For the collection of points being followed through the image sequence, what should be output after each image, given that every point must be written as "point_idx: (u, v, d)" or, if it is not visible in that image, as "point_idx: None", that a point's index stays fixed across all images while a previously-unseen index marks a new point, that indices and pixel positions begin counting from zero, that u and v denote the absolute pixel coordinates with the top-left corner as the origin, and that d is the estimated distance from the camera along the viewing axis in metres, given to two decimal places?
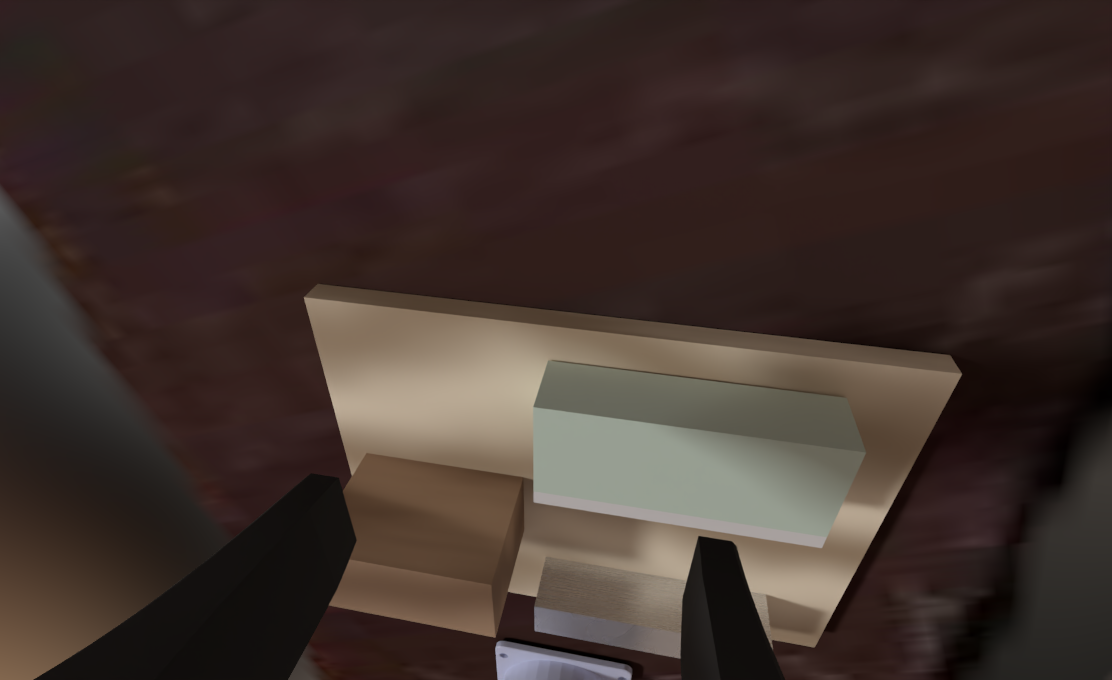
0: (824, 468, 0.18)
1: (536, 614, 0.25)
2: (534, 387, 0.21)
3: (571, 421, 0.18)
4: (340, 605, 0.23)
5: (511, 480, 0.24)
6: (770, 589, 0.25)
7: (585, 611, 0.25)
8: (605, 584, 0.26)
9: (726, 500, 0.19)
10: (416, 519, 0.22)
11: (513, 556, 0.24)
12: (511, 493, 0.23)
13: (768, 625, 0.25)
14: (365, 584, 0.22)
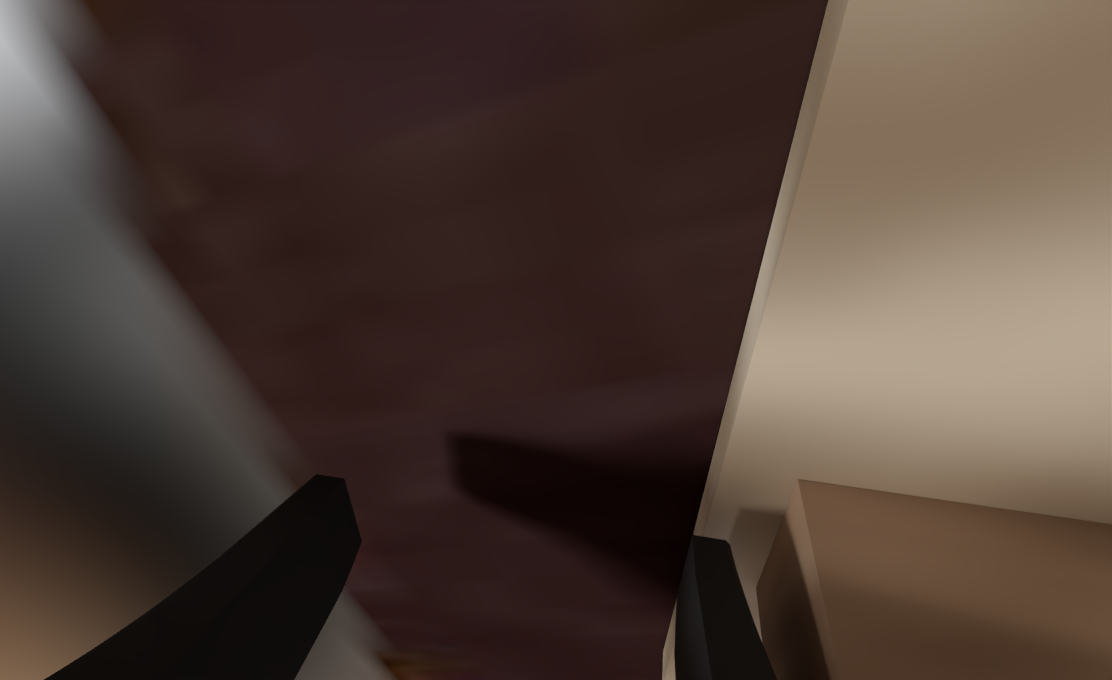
0: None
1: None
2: None
3: None
4: None
5: None
6: None
7: None
8: None
9: None
10: (1094, 679, 0.08)
11: None
12: None
13: None
14: None
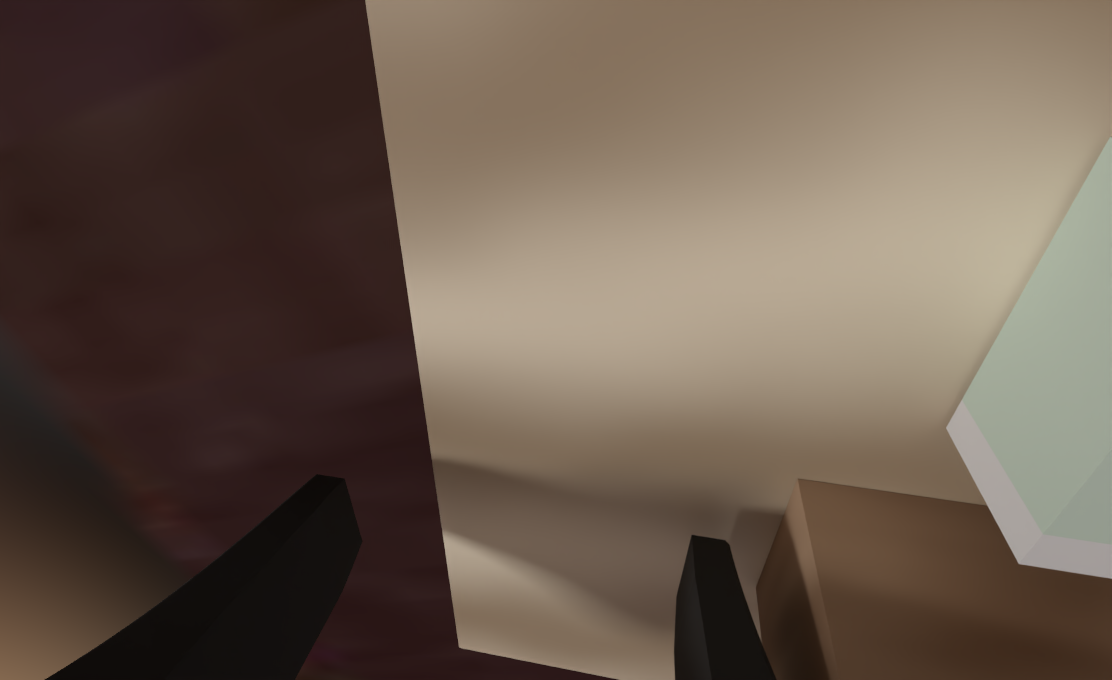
0: None
1: None
2: (1001, 239, 0.08)
3: None
4: None
5: None
6: None
7: None
8: None
9: None
10: (1094, 679, 0.08)
11: None
12: None
13: None
14: None
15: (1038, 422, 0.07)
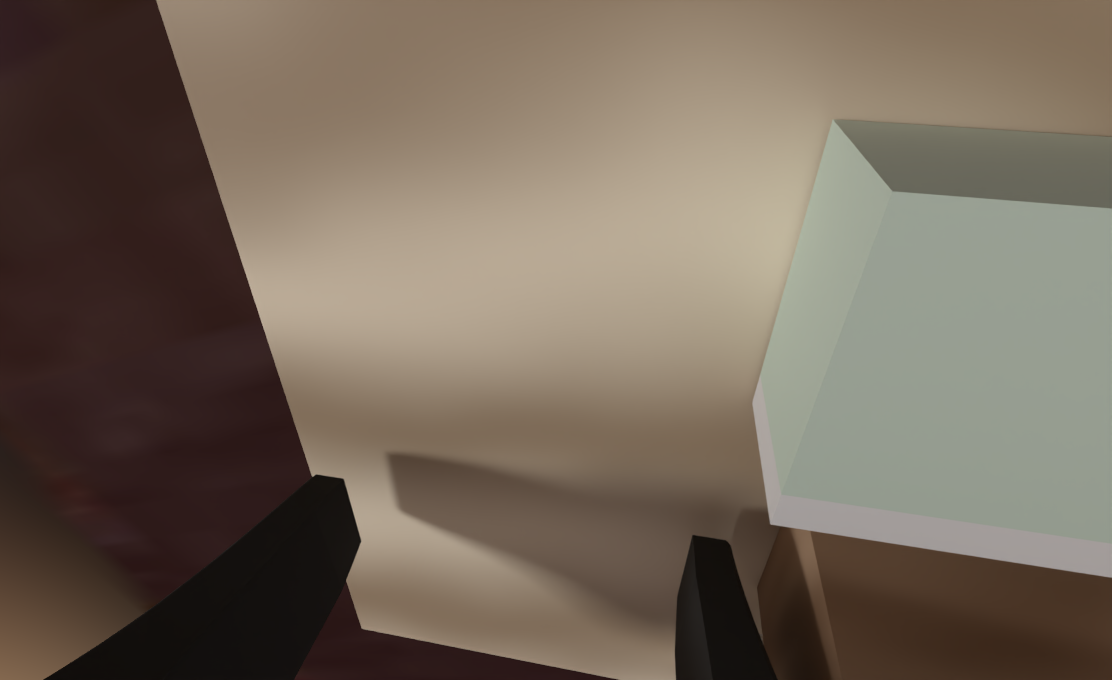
0: None
1: None
2: (763, 219, 0.08)
3: (1024, 245, 0.05)
4: None
5: None
6: None
7: None
8: None
9: None
10: (1096, 678, 0.08)
11: None
12: None
13: None
14: None
15: (787, 390, 0.08)
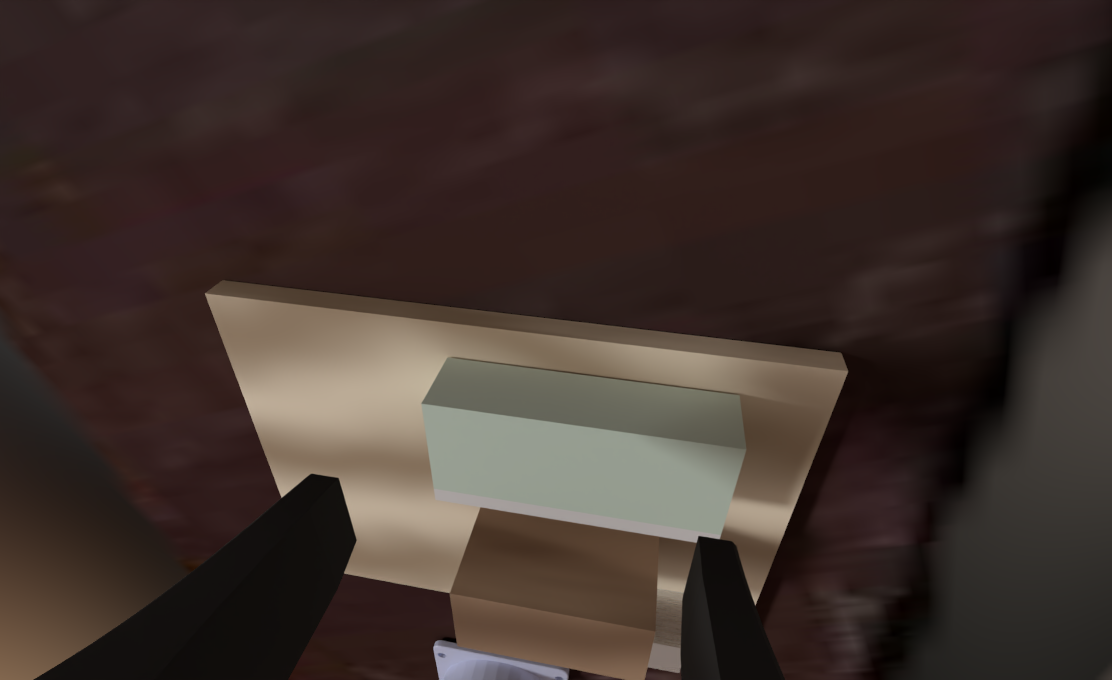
0: (708, 466, 0.18)
1: None
2: None
3: (459, 418, 0.18)
4: (474, 647, 0.22)
5: None
6: None
7: None
8: None
9: (619, 498, 0.19)
10: (558, 557, 0.21)
11: None
12: None
13: None
14: (509, 627, 0.20)
15: None
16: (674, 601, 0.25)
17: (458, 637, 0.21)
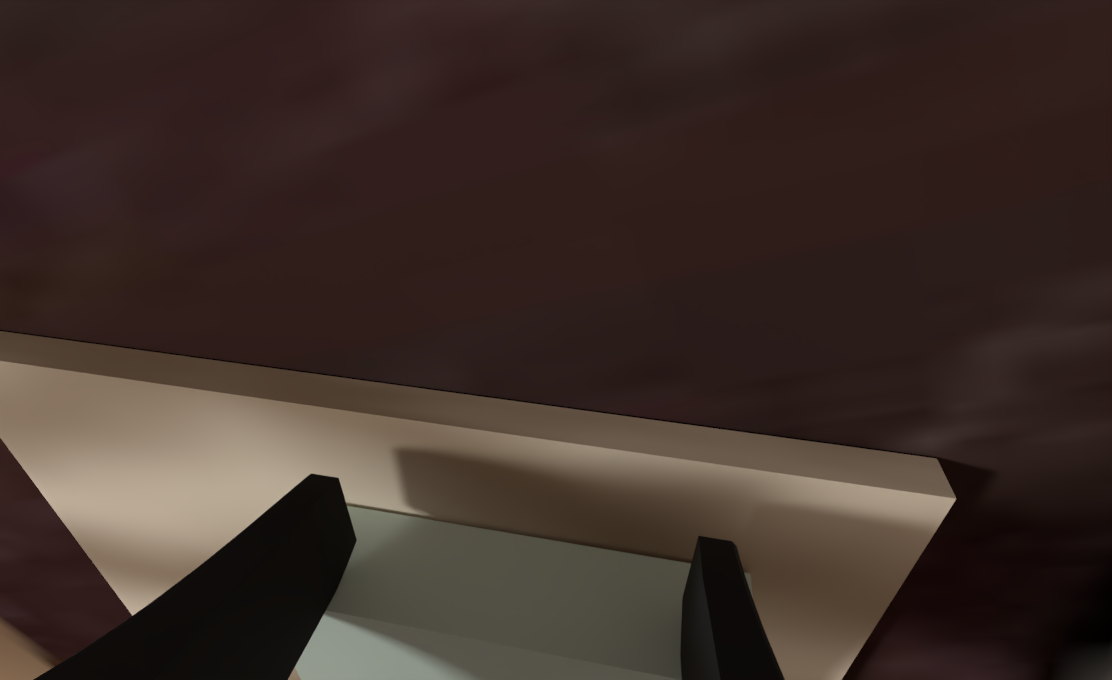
0: None
1: None
2: None
3: (321, 619, 0.12)
4: None
5: None
6: None
7: None
8: None
9: None
10: None
11: None
12: None
13: None
14: None
15: None
16: None
17: None
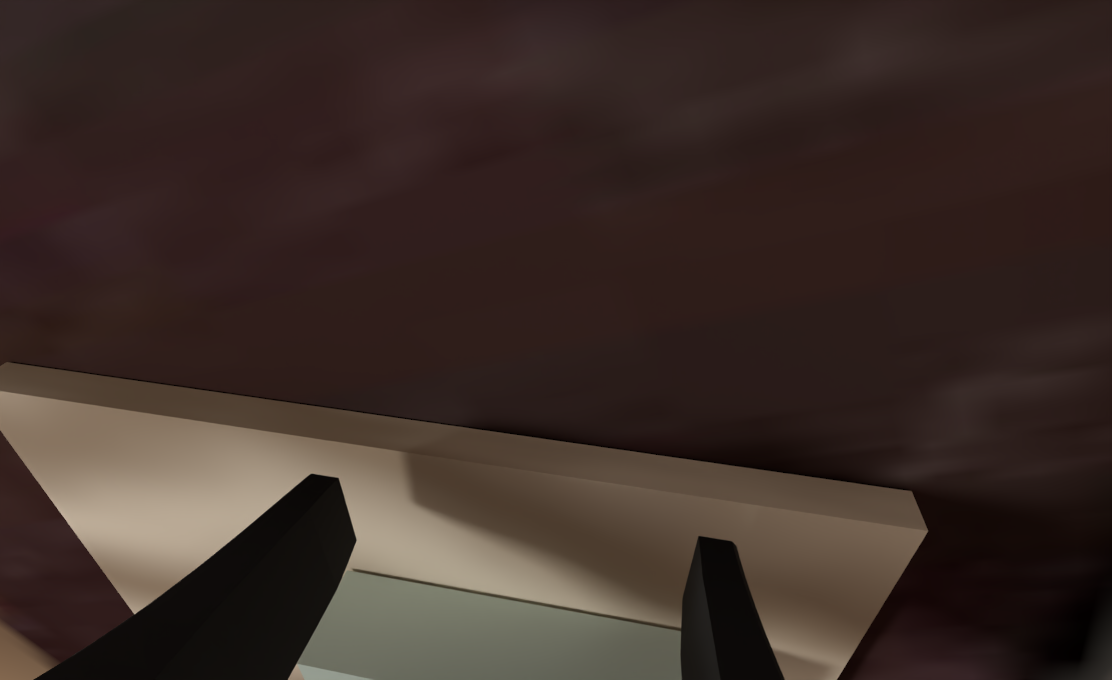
0: None
1: None
2: None
3: None
4: None
5: None
6: None
7: None
8: None
9: None
10: None
11: None
12: None
13: None
14: None
15: None
16: None
17: None
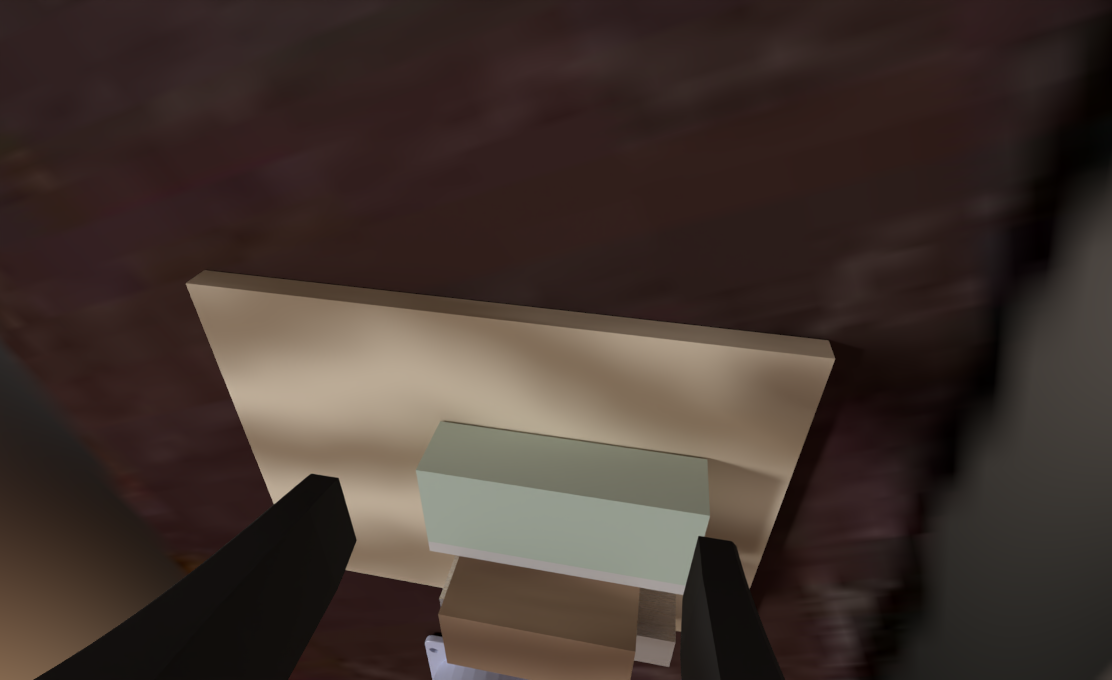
0: (677, 528, 0.19)
1: None
2: (422, 374, 0.21)
3: (451, 482, 0.20)
4: (463, 664, 0.22)
5: None
6: None
7: None
8: None
9: (598, 553, 0.21)
10: (543, 577, 0.22)
11: None
12: None
13: (674, 617, 0.24)
14: (496, 646, 0.21)
15: None
16: (664, 594, 0.25)
17: (447, 654, 0.22)
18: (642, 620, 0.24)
